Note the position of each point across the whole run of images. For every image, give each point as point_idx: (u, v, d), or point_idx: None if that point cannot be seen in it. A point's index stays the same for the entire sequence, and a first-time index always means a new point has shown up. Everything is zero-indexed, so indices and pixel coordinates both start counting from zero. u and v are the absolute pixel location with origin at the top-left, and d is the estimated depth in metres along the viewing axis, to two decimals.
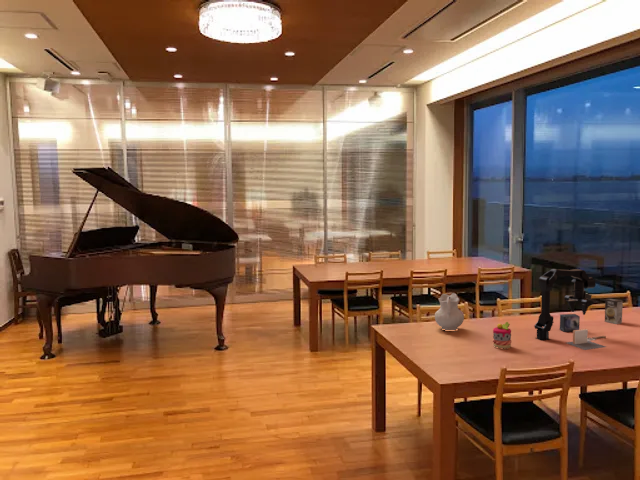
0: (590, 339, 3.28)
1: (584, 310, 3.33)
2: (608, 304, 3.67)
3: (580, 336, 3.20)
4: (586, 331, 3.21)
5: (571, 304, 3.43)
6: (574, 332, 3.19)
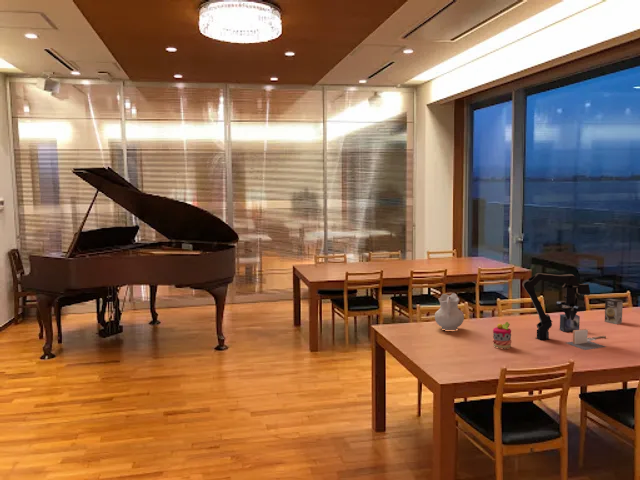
0: (590, 339, 3.28)
1: (572, 316, 3.25)
2: (608, 304, 3.67)
3: (580, 336, 3.20)
4: (586, 331, 3.21)
5: (566, 311, 3.29)
6: (574, 332, 3.19)
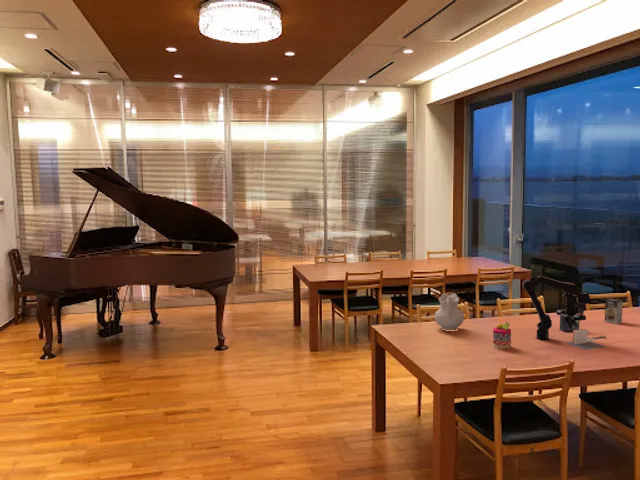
0: (590, 339, 3.28)
1: (571, 324, 3.26)
2: (608, 304, 3.67)
3: (580, 336, 3.20)
4: (586, 331, 3.21)
5: None
6: (574, 332, 3.19)
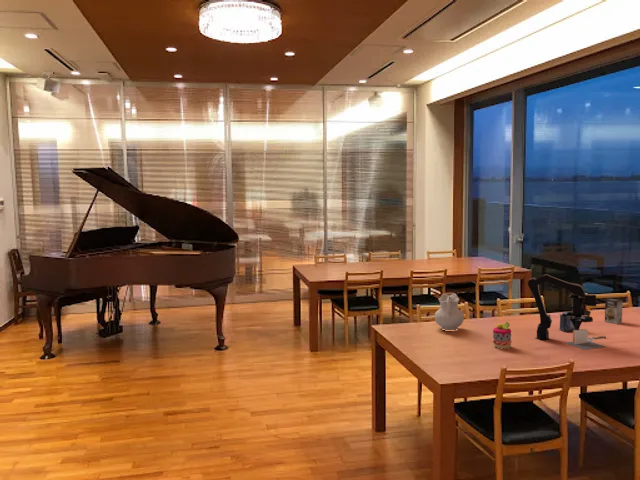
0: (590, 339, 3.28)
1: (577, 326, 3.22)
2: (608, 304, 3.67)
3: (580, 336, 3.20)
4: (586, 331, 3.21)
5: None
6: (574, 332, 3.19)
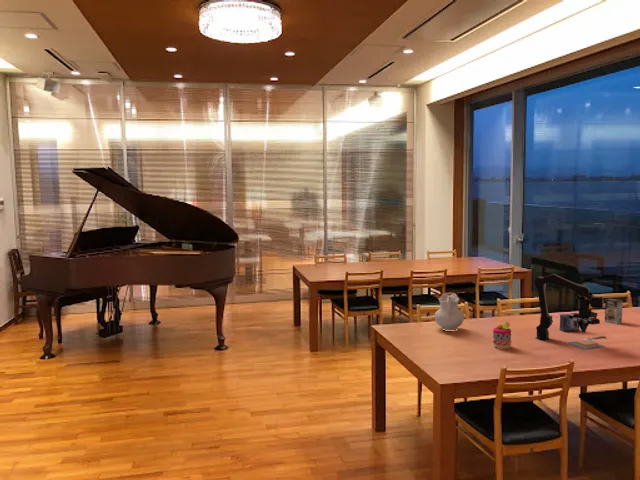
0: (590, 339, 3.28)
1: (584, 328, 3.17)
2: (608, 304, 3.67)
3: None
4: None
5: None
6: (584, 346, 3.12)
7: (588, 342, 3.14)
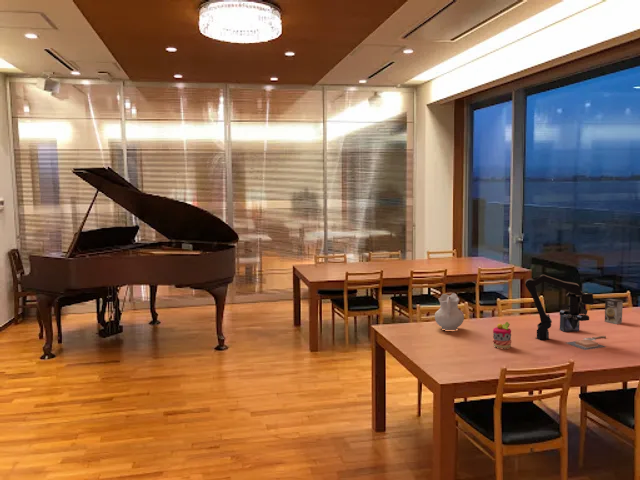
0: (590, 339, 3.28)
1: (574, 324, 3.24)
2: (608, 304, 3.67)
3: None
4: None
5: None
6: (584, 346, 3.12)
7: (588, 342, 3.14)
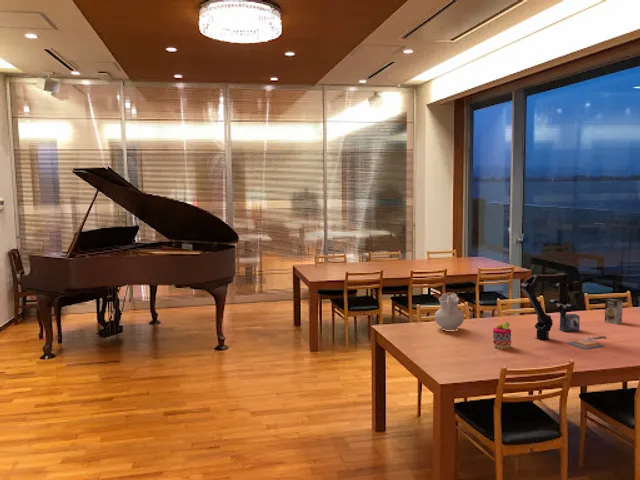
0: (590, 339, 3.28)
1: (563, 313, 3.32)
2: (608, 304, 3.67)
3: None
4: None
5: None
6: (584, 346, 3.12)
7: (588, 342, 3.14)
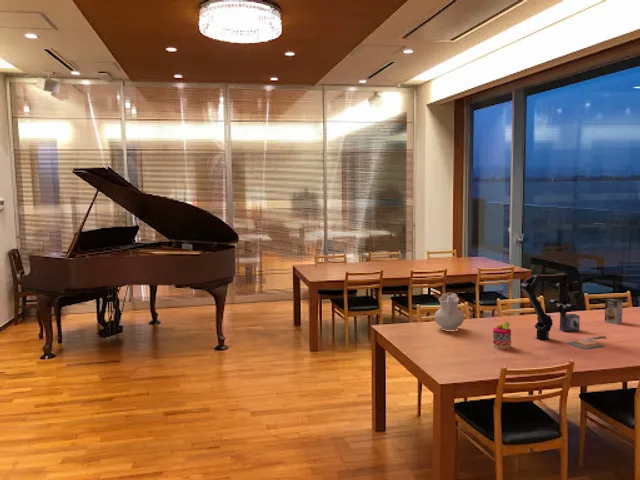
0: (590, 339, 3.28)
1: (563, 313, 3.32)
2: (608, 304, 3.67)
3: None
4: None
5: None
6: (584, 346, 3.12)
7: (588, 342, 3.14)
